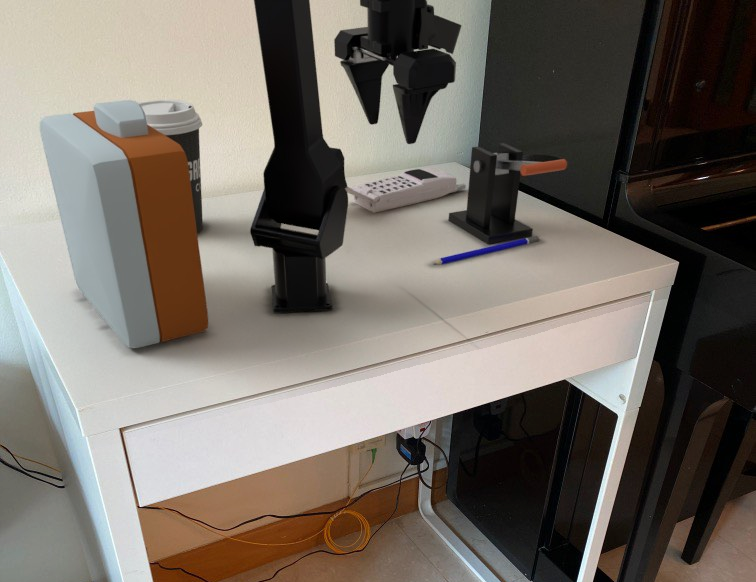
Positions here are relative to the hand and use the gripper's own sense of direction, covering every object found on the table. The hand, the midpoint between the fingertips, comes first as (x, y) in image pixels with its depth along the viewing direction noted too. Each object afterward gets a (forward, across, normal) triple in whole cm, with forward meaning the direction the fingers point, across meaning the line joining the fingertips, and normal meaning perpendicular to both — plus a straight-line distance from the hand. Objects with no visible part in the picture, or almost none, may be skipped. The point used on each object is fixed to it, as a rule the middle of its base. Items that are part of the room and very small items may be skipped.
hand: (391, 133), depth 98 cm
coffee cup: (+12, +13, +25) cm, 31 cm away
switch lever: (+4, -11, -12) cm, 17 cm away
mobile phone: (+13, +9, -6) cm, 17 cm away
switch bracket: (+13, -6, -12) cm, 18 cm away
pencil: (+13, -13, -7) cm, 19 cm away
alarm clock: (+11, -9, +37) cm, 40 cm away
